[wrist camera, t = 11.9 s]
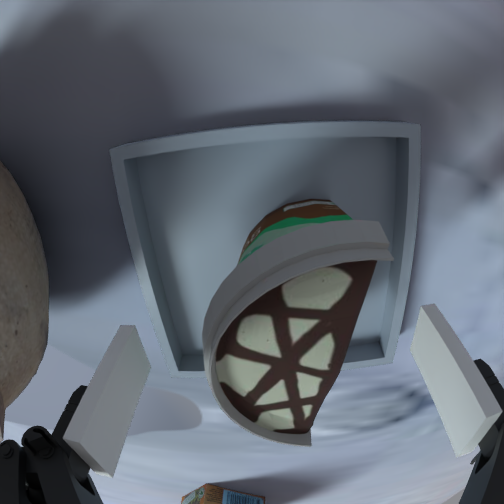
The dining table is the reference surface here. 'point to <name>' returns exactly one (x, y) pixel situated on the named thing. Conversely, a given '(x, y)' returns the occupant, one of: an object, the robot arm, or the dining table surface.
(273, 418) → the food container
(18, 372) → the ceramic bowl
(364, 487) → the dining table surface
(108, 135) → the dining table surface
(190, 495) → the milk carton
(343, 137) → the tray
